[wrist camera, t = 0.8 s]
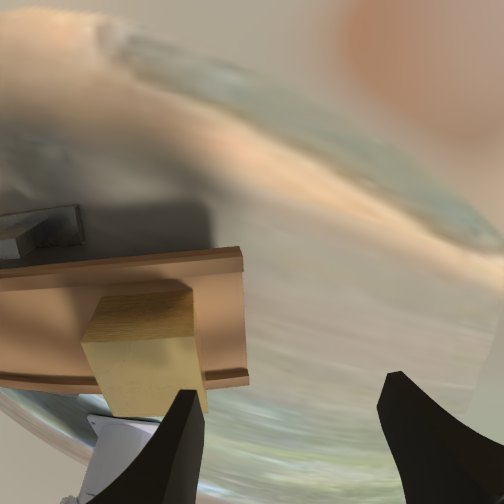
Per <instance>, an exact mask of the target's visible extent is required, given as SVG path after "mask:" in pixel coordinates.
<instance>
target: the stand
mask: <svg viewBox="0 0 504 504" xmlns="http://www.w3.org/2000/svg"><path fill="white" fill-rule="evenodd" d="M84 242H85V237H84V232H83V227H82V222H81V216H80V210H79V205H71V206H63V207H55V208H48V209H40V210H33V211H27V212H20V213H13V214H7V215H1V216H0V260H1V259H20V258H22V257H23V256H24V255H26V254H27V253H28V252H30V251H31V250H33V249H34V248H35V247H49V246H65V245H81V244H82V243H84ZM46 393H51V394H56V395H61V396H66V397H72V398H77V397H78V394H79V393H59V392H46Z"/></svg>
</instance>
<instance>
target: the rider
mask: <svg viewBox="0 0 504 504" xmlns="http://www.w3.org/2000/svg"><path fill="white" fill-rule="evenodd" d="M81 345H82V347H83V350H84V352H85V355H86V357H87V360H88V362H89V365H90V367H91V369H92V372H93V374H94V376H95V378H96V381H97V383H98V385H99V387H100V389H101V392H102V394H103V396H104V398H105V400H106V402H107V404H108V406H109V408H110V410H111V412H112V414H113V416H114V417H154V416H165V415H166V413H167V412H168V410H169V408H170V406H171V404H172V403H173V401H174V399H175V397H176V395H177V393H178V391H179V390H180V389H192V390H197V393H198V397H199V401H200V405H201V409H202V413H203V414H204V413H208V402H207V391H206V379H205V366H204V358H203V352H202V346H201V339H200V333H199V326H198V319H197V312H196V305H195V298H194V291H193V289H190V290H179V291H168V292H156V293H144V294H132V295H119V296H105V297H101V299H100V301H99V303H98V305H97V307H96V309H95V312H94V314H93V316H92V318H91V320H90V322H89V325H88V327H87V329H86V331H85V334H84V336H83V338H82V341H81Z"/></svg>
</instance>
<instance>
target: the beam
mask: <svg viewBox="0 0 504 504" xmlns="http://www.w3.org/2000/svg"><path fill="white" fill-rule="evenodd" d="M242 272H244V270H243V256H242V253H241V250H240V247H239V246H234V247H223V248H212V249H201V250H191V251H180V252H169V253H159V254H148V255H138V256H128V257H117V258H107V259H97V260H87V261H77V262H67V263H57V264H47V265H38V266H28V267H18V268H9V269H0V387H6V388H14V389H23V390H33V391H45V392H59V393H79V394H102V392H101V389H100V387H99V385H98V383H97V381H96V378H95V376H94V374H93V372H92V369H91V367H90V365H89V362H88V360H87V357H86V355H85V352H84V350H83V347H82V345H81V341H82V338H83V336H84V334H85V331H86V329H87V327H88V325H89V322H90V320H91V318H92V316H93V314H94V312H95V309H96V307H97V305H98V303H99V301H100V299H101V297H105V296H119V295H132V294H144V293H156V292H168V291H179V290H190V289H193V291H194V298H195V305H196V312H197V319H198V326H199V333H200V339H201V346H202V352H203V358H204V366H205V379H206V390H209V389H219V388H228V387H237V386H245V385H249V374H248V370H247V353H246V336H245V317H244V298H243V279H242Z"/></svg>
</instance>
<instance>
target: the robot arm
mask: <svg viewBox="0 0 504 504" xmlns="http://www.w3.org/2000/svg"><path fill="white" fill-rule="evenodd" d="M377 411H378V415H379V419H380V423H381V427H382V430H383V432H384V435H385V437H386V440H387V443H388V445H389V448H390V450H391V453H392V455H393V458H394V460H395V463H396V465H397V468H398V471H399V474H400V477H401V481H402V485H403V489H404V494H405V499H406V504H504V445H501V444H499V443H497V442H494V441H492V440H490V439H488V438H486V437H485V436H483V435H481V434H479V433H477V432H475V431H474V430H472V429H471V428H469V427H468V426H466V425H464V424H463V423H461V422H460V421H459V420H457V419H456V418H455V417H453V416H452V415H451V414H449V413H448V412H447V411H445V410H444V409H443V408H442V407H441V406H439V405H438V404H437V403H436V402H435V401H434V400H432V399H431V398H430V397H429V396H428V395H427V394H426V393H425V392H424V391H422V390H421V389H420V388H419V387H418V386H417V385H416V384H415V383H414V382H413V381H412V380H411V379H409V378H408V377H407V376H406V375H405V374H404V373H403V372H402V371H398V372H392V373H387V376H386V380H385V383H384V386H383V389H382V392H381V395H380V398H379V401H378V404H377ZM87 420H88V421H89V423H90V425H91V426H92V428H93V429H94V431H95V433H96V434H97V436H98V439H97V442H96V445H95V448H94V451H93V454H92V457H91V459H90V462H89V465H88V469H87V471H86V474H85V477H84V480H83V484H82V487H81V490H80V493H79V496H78V497H77V498H75V497H73V496H69V497H65V498H63V499H62V500H61V502H60V504H195V500H196V491H197V485H198V479H199V472H200V466H201V460H202V454H203V447H204V428H205V421H204V417H203V413H202V409H201V405H200V401H199V397H198V393H197V390H192V389H180V390H179V391H178V393H177V395H176V397H175V399H174V401H173V403H172V404H171V406H170V408H169V410H168V412H167V413H166V415H165V417H164V418H163V420H162V422H161V423H154V422H143V421H133V420H125V419H117V418H110V417H103V416H97V415H90V414H89V415H88V416H87Z"/></svg>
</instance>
